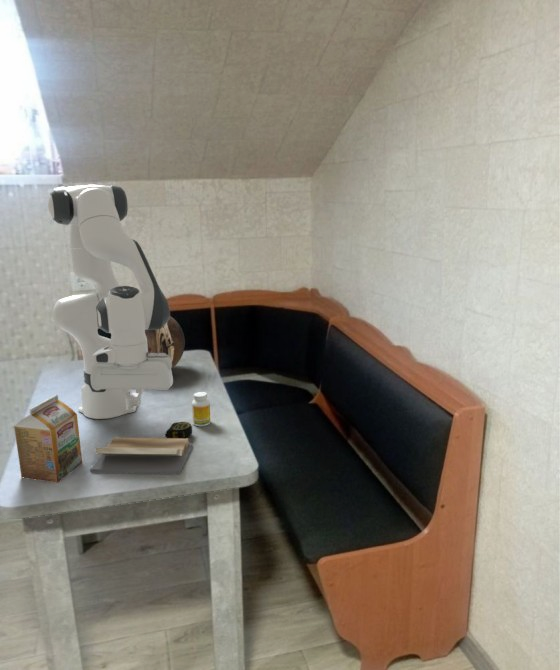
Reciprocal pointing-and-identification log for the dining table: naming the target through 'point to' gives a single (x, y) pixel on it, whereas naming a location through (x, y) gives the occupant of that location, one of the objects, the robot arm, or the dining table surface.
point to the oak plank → (150, 443)
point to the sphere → (167, 340)
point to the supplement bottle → (201, 409)
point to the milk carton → (48, 441)
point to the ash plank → (138, 451)
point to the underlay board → (141, 463)
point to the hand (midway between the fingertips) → (134, 404)
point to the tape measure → (179, 430)
